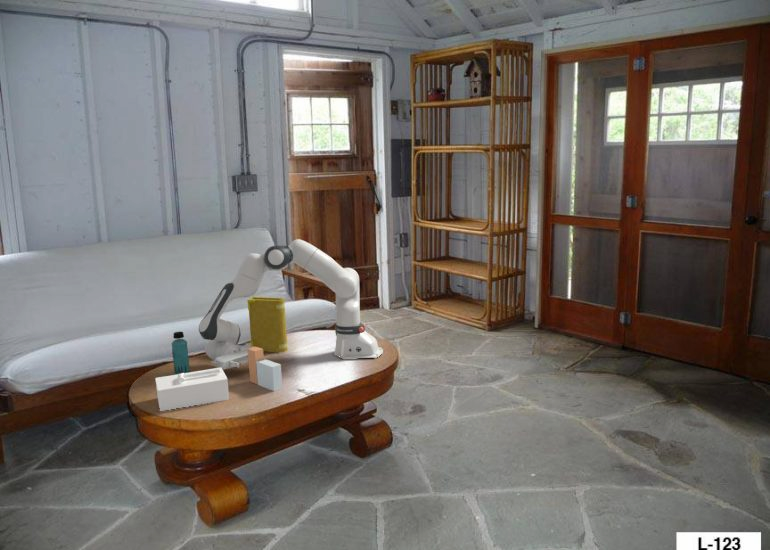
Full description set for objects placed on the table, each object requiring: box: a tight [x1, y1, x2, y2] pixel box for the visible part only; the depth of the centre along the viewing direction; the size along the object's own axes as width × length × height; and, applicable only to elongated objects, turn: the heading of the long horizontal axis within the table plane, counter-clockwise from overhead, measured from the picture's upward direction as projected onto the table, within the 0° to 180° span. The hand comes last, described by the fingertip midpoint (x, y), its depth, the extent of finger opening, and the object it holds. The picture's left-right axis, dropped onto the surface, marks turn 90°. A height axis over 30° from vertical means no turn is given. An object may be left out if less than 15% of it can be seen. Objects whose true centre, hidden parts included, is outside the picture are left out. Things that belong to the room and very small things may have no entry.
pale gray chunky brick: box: [256, 358, 283, 392], centre depth 245 cm, size 11×4×10 cm, turn 47°
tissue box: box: [155, 367, 230, 412], centre depth 235 cm, size 14×25×11 cm, turn 114°
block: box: [248, 347, 265, 385], centre depth 251 cm, size 5×4×14 cm
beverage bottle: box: [171, 331, 191, 375], centre depth 257 cm, size 6×7×20 cm
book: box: [247, 296, 289, 353], centre depth 290 cm, size 17×7×25 cm, turn 73°
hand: (249, 362), depth 254 cm, fingers open, 8 cm apart
